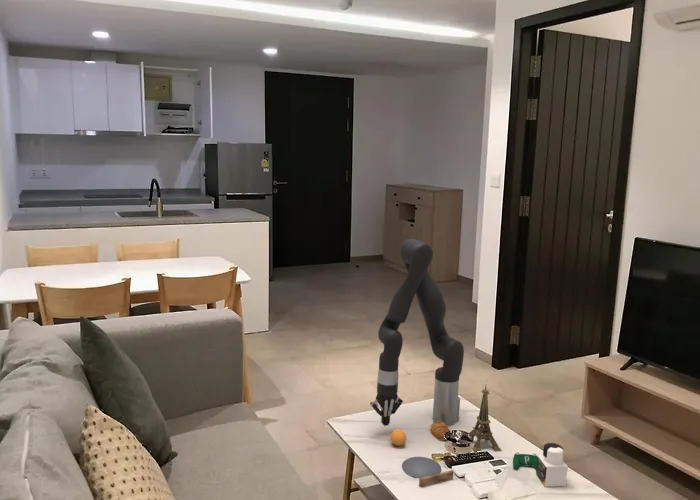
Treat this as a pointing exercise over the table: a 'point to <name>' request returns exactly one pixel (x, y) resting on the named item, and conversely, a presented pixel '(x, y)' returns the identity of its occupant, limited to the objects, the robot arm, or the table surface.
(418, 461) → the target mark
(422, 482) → the strip
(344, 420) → the table surface
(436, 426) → the pastry
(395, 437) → the ball
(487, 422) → the eiffel tower
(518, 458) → the gaming controller
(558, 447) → the medicine bottle
